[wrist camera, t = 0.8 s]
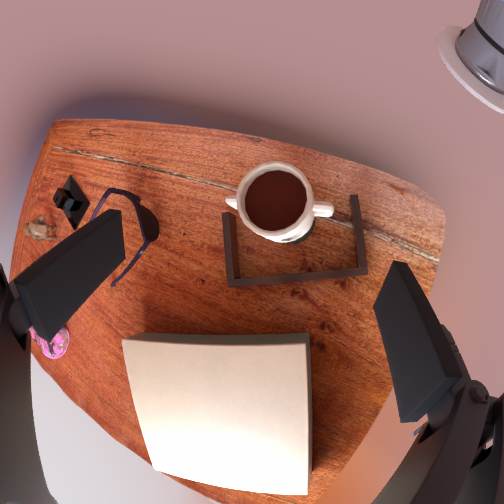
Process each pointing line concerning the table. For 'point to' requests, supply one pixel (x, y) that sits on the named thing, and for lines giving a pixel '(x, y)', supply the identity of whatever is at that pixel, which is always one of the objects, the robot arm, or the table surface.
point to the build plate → (71, 201)
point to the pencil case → (53, 343)
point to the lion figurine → (39, 229)
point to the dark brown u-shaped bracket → (234, 275)
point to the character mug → (278, 202)
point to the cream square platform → (226, 407)
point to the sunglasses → (145, 220)
